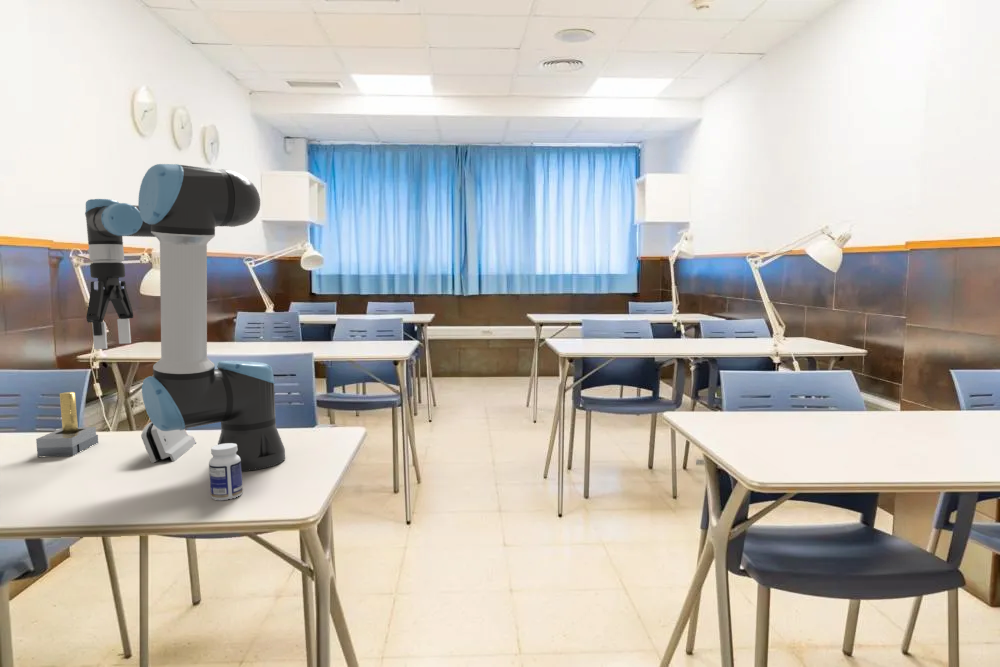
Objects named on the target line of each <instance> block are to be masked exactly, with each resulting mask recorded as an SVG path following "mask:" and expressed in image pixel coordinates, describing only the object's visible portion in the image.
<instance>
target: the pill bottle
mask: <svg viewBox="0 0 1000 667" xmlns="http://www.w3.org/2000/svg"><path fill="white" fill-rule="evenodd" d="M237 451H238V449H237V444H234V443H225V444H219V445H218V444H216V445H213V446H212V447H210V452H211V453H210V454H211V455H212V457H211V458H210V459H209V462H208V467H209V468H208V469H209V481H210V482H209V484H210V496H211V499H212V500H215V501H229V500H228V499H230V500H233V499H232V498H234V499H237V498H238V496H239V497H241V495H242V494H243V492H244V491H243V490H244V489H243V476H242V474H243V473H242V472H243V471H241V459H240V457H239V456H238V455H236V452H237ZM236 497H237V498H236Z"/></svg>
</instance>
